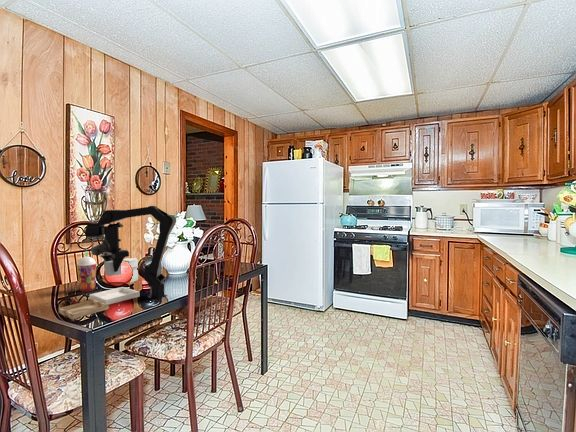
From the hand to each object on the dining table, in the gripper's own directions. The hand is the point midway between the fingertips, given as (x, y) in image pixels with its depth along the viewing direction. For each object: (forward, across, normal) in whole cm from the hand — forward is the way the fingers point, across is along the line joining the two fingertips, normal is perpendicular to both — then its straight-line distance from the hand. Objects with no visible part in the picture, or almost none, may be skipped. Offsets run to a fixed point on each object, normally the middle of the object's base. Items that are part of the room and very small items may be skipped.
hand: (112, 271), depth 145 cm
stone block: (+2, 0, 0) cm, 2 cm away
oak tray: (+13, +7, -15) cm, 21 cm away
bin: (+13, 0, +1) cm, 13 cm away
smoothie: (+13, -25, 0) cm, 29 cm away
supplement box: (+13, -26, +21) cm, 35 cm away
